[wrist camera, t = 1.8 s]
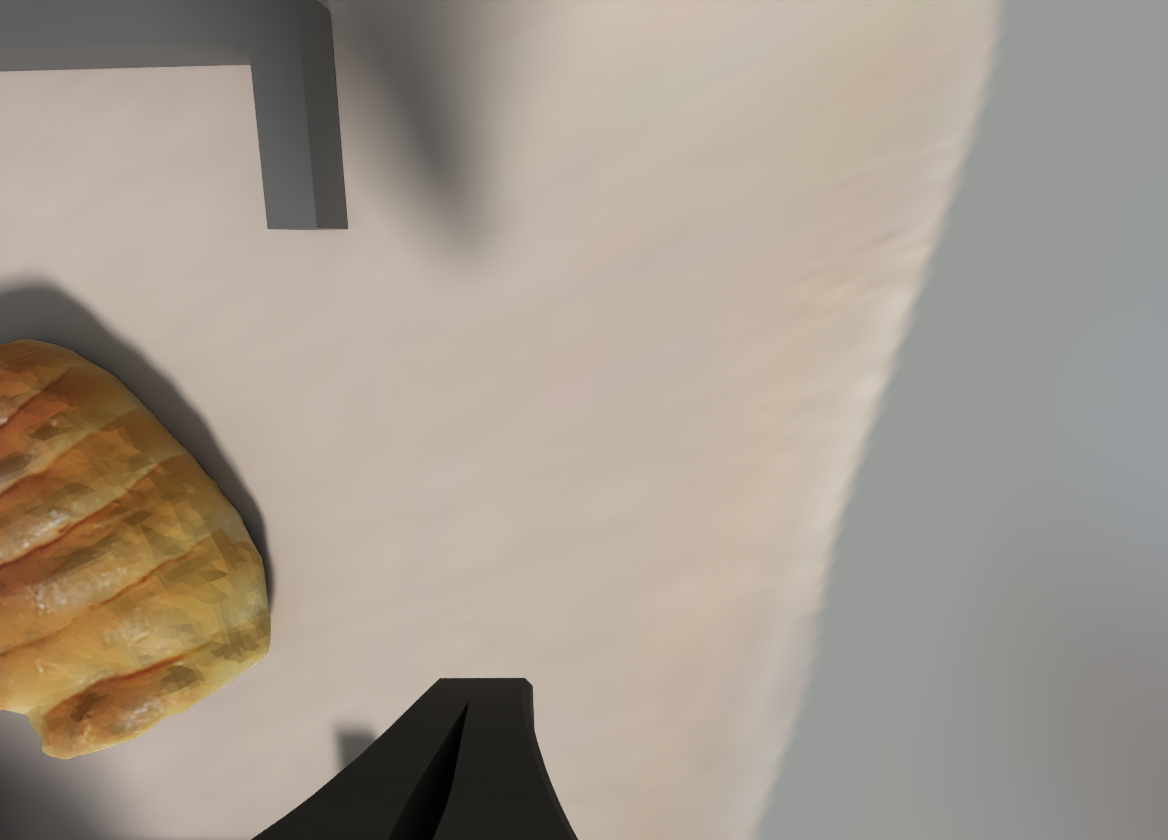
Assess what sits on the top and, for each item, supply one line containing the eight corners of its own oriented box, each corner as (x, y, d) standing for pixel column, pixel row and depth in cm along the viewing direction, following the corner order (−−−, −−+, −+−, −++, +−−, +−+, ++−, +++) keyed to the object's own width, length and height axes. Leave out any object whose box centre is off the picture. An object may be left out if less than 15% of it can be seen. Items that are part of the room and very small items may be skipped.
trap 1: (347, 229, 18) (316, 227, 16) (-171, 239, 19) (-262, 240, 17) (330, 11, 17) (295, -18, 15) (-217, 28, 18) (-319, 2, 16)
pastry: (-105, 403, 20) (-270, 441, 16) (130, 286, 19) (16, 297, 15) (99, 720, 21) (-5, 821, 18) (323, 624, 21) (263, 707, 17)
